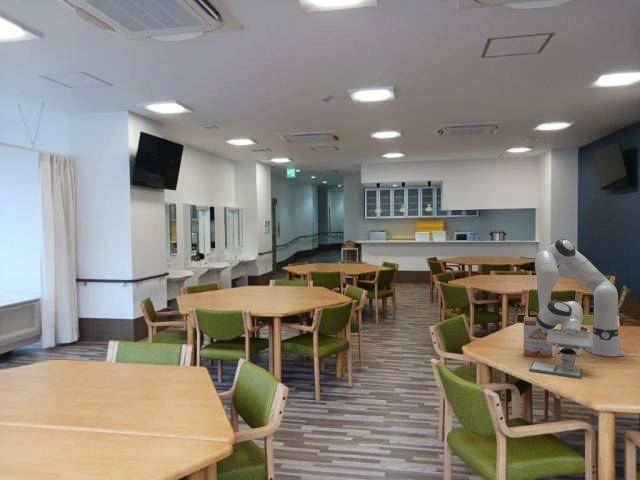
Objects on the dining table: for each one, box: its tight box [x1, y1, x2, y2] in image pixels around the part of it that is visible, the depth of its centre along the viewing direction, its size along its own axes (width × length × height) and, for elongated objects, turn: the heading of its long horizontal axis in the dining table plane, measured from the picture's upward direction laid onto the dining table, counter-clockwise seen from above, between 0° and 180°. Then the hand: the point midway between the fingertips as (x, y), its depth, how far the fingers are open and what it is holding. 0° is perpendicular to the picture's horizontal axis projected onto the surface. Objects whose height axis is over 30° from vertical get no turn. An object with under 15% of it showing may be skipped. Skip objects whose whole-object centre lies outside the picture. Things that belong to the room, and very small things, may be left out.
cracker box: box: [523, 316, 553, 359], centre depth 246 cm, size 14×6×21 cm, turn 71°
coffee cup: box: [560, 347, 577, 372], centre depth 217 cm, size 7×7×10 cm
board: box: [528, 361, 584, 379], centre depth 220 cm, size 14×22×1 cm, turn 57°
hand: (567, 354), depth 217 cm, fingers closed on coffee cup, 7 cm apart
